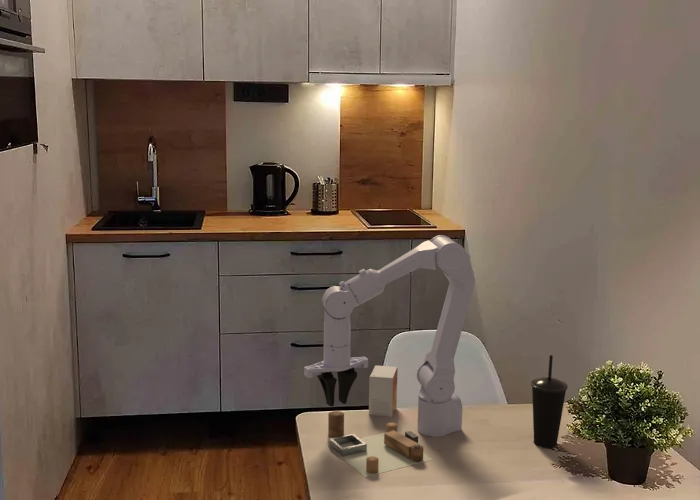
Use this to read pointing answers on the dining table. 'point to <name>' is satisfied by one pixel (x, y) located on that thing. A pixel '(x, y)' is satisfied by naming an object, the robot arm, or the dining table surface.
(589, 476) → the dining table surface
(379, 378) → the small box
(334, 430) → the loose leg
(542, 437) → the drinking cup
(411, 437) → the seat board
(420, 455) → the folding leg
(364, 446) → the socket
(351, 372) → the robot arm
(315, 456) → the dining table surface
